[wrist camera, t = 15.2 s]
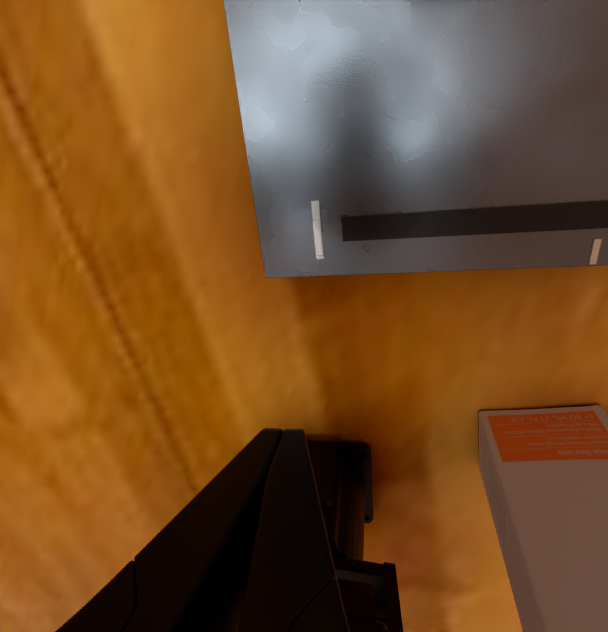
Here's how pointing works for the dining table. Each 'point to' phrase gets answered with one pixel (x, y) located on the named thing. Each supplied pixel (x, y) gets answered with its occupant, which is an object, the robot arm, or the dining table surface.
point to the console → (424, 133)
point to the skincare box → (551, 512)
